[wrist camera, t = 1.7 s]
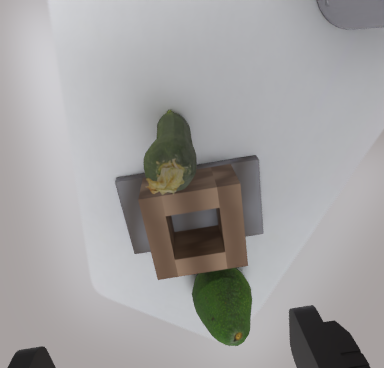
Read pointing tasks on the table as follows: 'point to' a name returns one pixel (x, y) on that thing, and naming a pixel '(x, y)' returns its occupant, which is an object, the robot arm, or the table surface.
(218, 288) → the avocado
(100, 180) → the table surface
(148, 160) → the vegetable
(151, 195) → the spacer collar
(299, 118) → the table surface
